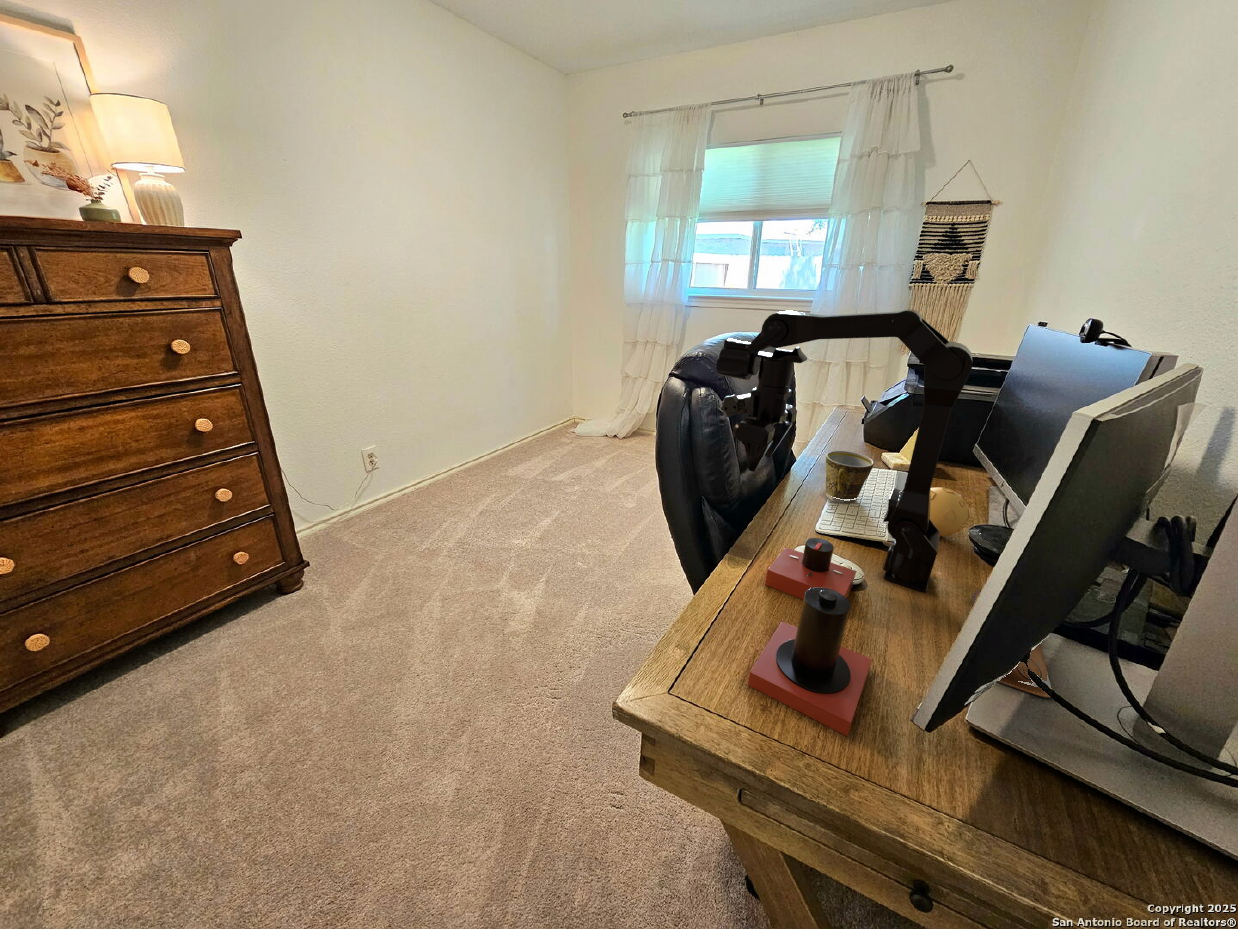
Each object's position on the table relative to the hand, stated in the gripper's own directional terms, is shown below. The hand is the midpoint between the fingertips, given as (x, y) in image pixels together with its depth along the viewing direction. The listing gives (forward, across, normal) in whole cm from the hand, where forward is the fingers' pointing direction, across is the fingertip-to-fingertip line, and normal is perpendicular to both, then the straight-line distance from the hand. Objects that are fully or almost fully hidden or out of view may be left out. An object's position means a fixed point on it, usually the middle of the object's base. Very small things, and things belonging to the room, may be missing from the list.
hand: (759, 463), depth 93 cm
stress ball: (+14, -21, +31) cm, 40 cm away
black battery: (+12, +33, +20) cm, 41 cm away
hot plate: (+14, +33, +20) cm, 41 cm away
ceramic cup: (+14, -26, +12) cm, 32 cm away
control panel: (+14, +12, +15) cm, 24 cm away
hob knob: (+11, +11, +15) cm, 21 cm away
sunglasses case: (+14, +10, +42) cm, 46 cm away
